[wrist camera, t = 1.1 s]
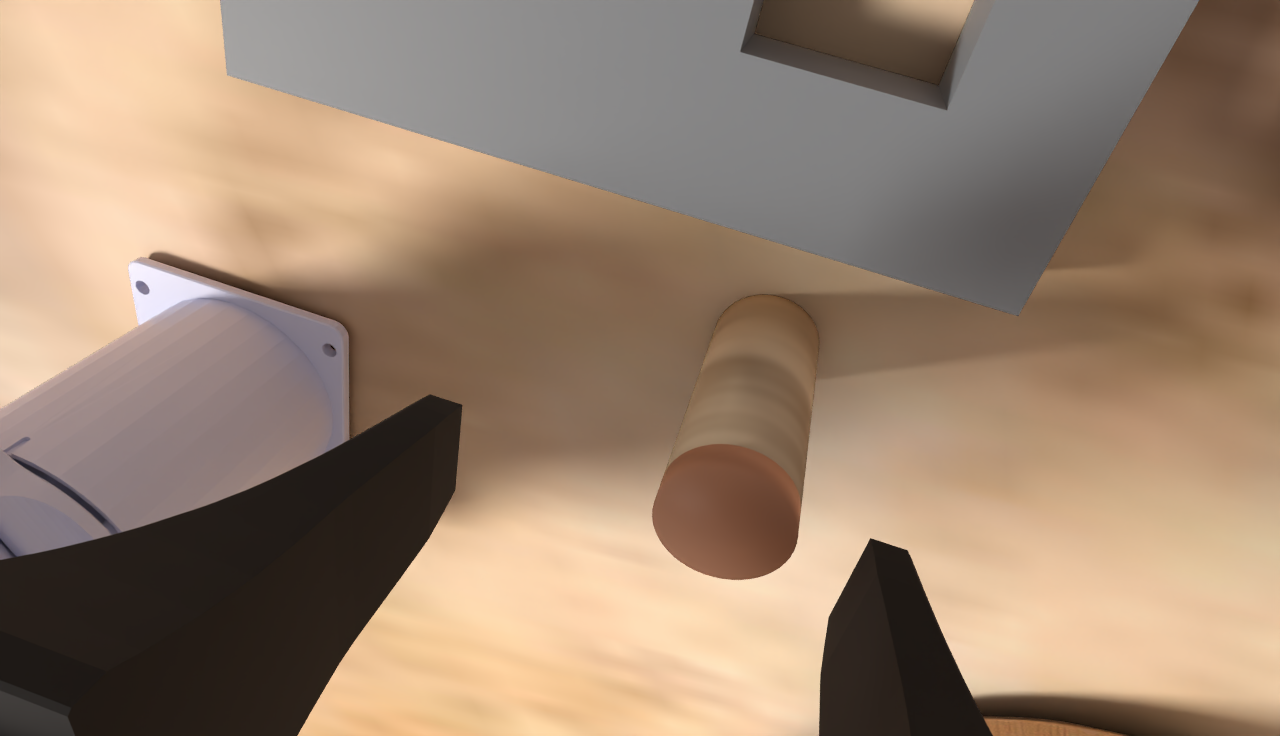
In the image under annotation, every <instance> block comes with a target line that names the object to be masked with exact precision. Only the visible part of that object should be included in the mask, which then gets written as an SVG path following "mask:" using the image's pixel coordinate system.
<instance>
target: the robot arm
mask: <svg viewBox="0 0 1280 736" xmlns="http://www.w3.org/2000/svg"><path fill="white" fill-rule="evenodd" d="M128 271H129V277H130V282H131V287H132V293H133V298H134V303H135V309H136V314H137V319H138V325H139V326H137V327H136V328H134V329H132V330H131V331H129V332H127V333H126V334H124V335H122V336H121V337H119V338H117V339H116V340H114V341H112V342H111V343H109V344H107V345H106V346H104V347H102V348H101V349H99V350H97V351H96V352H94V353H92V354H91V355H89V356H87V357H86V358H84V359H82V360H81V361H79V362H77V363H76V364H74V365H72V366H71V367H69V368H67V369H66V370H64V371H62V372H61V373H59V374H57V375H56V376H54V377H52V378H51V379H49V380H47V381H46V382H44V383H42V384H41V385H39V386H37V387H36V388H34V389H32V390H31V391H29V392H27V393H26V394H24V395H22V396H21V397H19V398H17V399H16V400H14V401H12V402H11V403H9V404H7V405H6V406H4V407H2V408H1V409H0V736H297V735H298V734H299V732H300V730H301V728H302V726H303V725H304V723H305V721H306V719H307V718H308V716H309V714H310V712H311V711H312V709H313V707H314V706H315V704H316V702H317V700H318V699H319V697H320V695H321V694H322V692H323V690H324V689H325V687H326V685H327V684H328V682H329V680H330V678H331V677H332V675H333V673H334V672H335V670H336V668H337V667H338V665H339V663H340V662H341V660H342V659H343V657H344V656H345V654H346V653H347V651H348V650H349V648H350V647H351V645H352V644H353V642H354V641H355V639H356V638H357V637H358V635H359V634H360V633H361V631H362V630H363V628H364V627H365V626H366V624H367V623H368V622H369V620H370V619H371V617H372V616H373V615H374V613H375V612H376V611H377V609H378V608H379V607H380V605H381V604H382V602H383V601H384V600H385V598H386V597H387V596H388V594H389V593H390V592H391V590H392V589H393V587H394V586H395V585H396V583H397V582H398V581H399V579H400V578H401V577H402V575H403V574H404V572H405V571H406V570H407V568H408V567H409V565H410V564H411V563H412V561H413V560H414V559H415V557H416V556H417V554H418V553H419V552H420V550H421V549H422V547H423V546H424V545H425V543H426V542H427V540H428V539H429V537H430V535H431V534H432V532H433V530H434V528H435V526H436V525H437V523H438V521H439V519H440V518H441V516H442V514H443V512H444V510H445V508H446V506H447V505H448V503H449V501H450V499H451V497H452V495H453V493H454V492H455V485H456V474H457V462H458V450H459V438H460V426H461V415H462V405H461V404H458V403H455V402H451V401H448V400H445V399H442V398H439V397H436V396H433V395H428V396H426V397H424V398H422V399H420V400H419V401H417V402H415V403H413V404H411V405H410V406H408V407H406V408H404V409H403V410H401V411H399V412H398V413H396V414H394V415H392V416H391V417H389V418H387V419H385V420H384V421H382V422H380V423H378V424H377V425H375V426H373V427H371V428H370V429H368V430H366V431H364V432H363V433H361V434H359V435H357V436H355V437H353V438H351V439H350V440H349V336H348V332H347V330H346V329H345V327H344V326H343V325H342V324H341V323H339V322H337V321H335V320H332V319H329V318H326V317H323V316H320V315H317V314H314V313H311V312H308V311H305V310H302V309H299V308H296V307H293V306H290V305H287V304H284V303H281V302H278V301H275V300H272V299H269V298H266V297H263V296H260V295H257V294H254V293H251V292H248V291H245V290H242V289H239V288H236V287H232V286H229V285H226V284H223V283H220V282H217V281H214V280H211V279H208V278H205V277H202V276H199V275H196V274H193V273H190V272H187V271H184V270H181V269H178V268H175V267H172V266H169V265H166V264H163V263H160V262H157V261H154V260H151V259H148V258H144V257H140V258H137V259H135V260H134V261H132V262H130V264H129V265H128ZM330 345H332V346H333V347H334V348H335V349H336V351H335V350H333V349H332V348H331V346H330ZM819 736H993V735H992V733H991V731H990V729H989V727H988V725H987V724H986V722H985V720H984V718H983V716H982V714H981V712H980V710H979V708H978V707H977V705H976V703H975V701H974V699H973V697H972V695H971V693H970V691H969V689H968V687H967V685H966V683H965V681H964V679H963V677H962V675H961V673H960V670H959V668H958V666H957V664H956V662H955V660H954V658H953V655H952V653H951V651H950V649H949V647H948V645H947V643H946V640H945V638H944V636H943V634H942V631H941V629H940V627H939V624H938V622H937V620H936V617H935V615H934V613H933V610H932V608H931V606H930V603H929V601H928V598H927V596H926V594H925V591H924V589H923V586H922V584H921V581H920V579H919V576H918V574H917V571H916V569H915V566H914V564H913V561H912V559H911V557H910V555H909V553H908V551H907V550H905V549H902V548H898V547H895V546H892V545H889V544H886V543H883V542H880V541H877V540H874V539H871V538H870V540H869V542H868V544H867V546H866V548H865V550H864V552H863V554H862V555H861V557H860V559H859V561H858V563H857V565H856V567H855V569H854V571H853V572H852V574H851V576H850V578H849V580H848V582H847V584H846V586H845V588H844V589H843V591H842V593H841V595H840V597H839V599H838V601H837V603H836V605H835V606H834V608H833V610H832V612H831V614H830V616H829V620H828V626H827V633H826V639H825V646H824V653H823V661H822V668H821V679H820V721H819Z"/></svg>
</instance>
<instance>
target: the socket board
mask: <svg viewBox="0 0 1280 736" xmlns="http://www.w3.org/2000/svg"><path fill="white" fill-rule="evenodd" d="M1198 1H1199V0H974V3H973V5H972V8H971V10H970V12H969V15H968V17H967V19H966V22H965V24H964V27H963V29H962V31H961V34H960V36H959V38H958V41H957V43H956V46H955V48H954V50H953V53H952V55H951V57H950V60H949V62H948V65H947V67H946V69H945V72H944V74H943V76H942V79H941V81H940V84H939V86H938V85H935V84H931V83H928V82H924V81H921V80H917V79H913V78H910V77H906V76H903V75H899V74H896V73H892V72H888V71H885V70H881V69H878V68H874V67H871V66H867V65H863V64H860V63H856V62H853V61H849V60H846V59H842V58H838V57H835V56H831V55H828V54H824V53H821V52H817V51H813V50H810V49H806V48H803V47H799V46H796V45H792V44H788V43H785V42H781V41H778V40H774V39H771V38H767V37H764V36H760V35H756V34H754V33H755V29H756V26H757V22H758V18H759V15H760V11H761V8H762V4H763V0H220V3H221V14H222V25H223V36H224V47H225V58H226V69H227V75H228V76H231V77H235V78H238V79H241V80H245V81H248V82H251V83H254V84H258V85H261V86H264V87H268V88H271V89H274V90H277V91H281V92H284V93H287V94H291V95H294V96H297V97H300V98H304V99H307V100H310V101H314V102H317V103H320V104H323V105H327V106H330V107H333V108H336V109H340V110H343V111H346V112H350V113H353V114H356V115H359V116H363V117H366V118H369V119H373V120H376V121H379V122H382V123H386V124H389V125H392V126H396V127H399V128H402V129H405V130H409V131H412V132H415V133H419V134H422V135H425V136H428V137H432V138H435V139H438V140H441V141H445V142H448V143H451V144H455V145H458V146H461V147H464V148H468V149H471V150H474V151H478V152H481V153H484V154H487V155H491V156H494V157H497V158H501V159H504V160H507V161H510V162H514V163H517V164H520V165H524V166H527V167H530V168H533V169H537V170H540V171H543V172H547V173H550V174H553V175H556V176H560V177H563V178H566V179H569V180H573V181H576V182H579V183H583V184H586V185H589V186H592V187H596V188H599V189H602V190H606V191H609V192H612V193H615V194H619V195H622V196H625V197H629V198H632V199H635V200H638V201H642V202H645V203H648V204H652V205H655V206H658V207H661V208H665V209H668V210H671V211H674V212H678V213H681V214H684V215H688V216H691V217H694V218H697V219H701V220H704V221H707V222H711V223H714V224H717V225H720V226H724V227H727V228H730V229H734V230H737V231H740V232H743V233H747V234H750V235H753V236H757V237H760V238H763V239H766V240H770V241H773V242H776V243H780V244H783V245H786V246H789V247H793V248H796V249H799V250H802V251H806V252H809V253H812V254H816V255H819V256H822V257H825V258H829V259H832V260H835V261H839V262H842V263H845V264H848V265H852V266H855V267H858V268H862V269H865V270H868V271H871V272H875V273H878V274H881V275H885V276H888V277H891V278H894V279H898V280H901V281H904V282H907V283H911V284H914V285H917V286H921V287H924V288H927V289H930V290H934V291H937V292H940V293H944V294H947V295H950V296H953V297H957V298H960V299H963V300H967V301H970V302H973V303H976V304H980V305H983V306H986V307H990V308H993V309H996V310H999V311H1003V312H1006V313H1009V314H1013V315H1016V316H1018V315H1019V314H1020V312H1021V310H1022V308H1023V307H1024V305H1025V303H1026V301H1027V300H1028V298H1029V296H1030V295H1031V293H1032V291H1033V289H1034V288H1035V286H1036V284H1037V282H1038V281H1039V279H1040V277H1041V275H1042V274H1043V272H1044V270H1045V268H1046V267H1047V265H1048V263H1049V261H1050V260H1051V258H1052V256H1053V254H1054V253H1055V251H1056V249H1057V247H1058V246H1059V244H1060V242H1061V240H1062V239H1063V237H1064V235H1065V233H1066V232H1067V230H1068V228H1069V226H1070V225H1071V223H1072V221H1073V219H1074V218H1075V216H1076V214H1077V213H1078V211H1079V209H1080V207H1081V206H1082V204H1083V202H1084V200H1085V199H1086V197H1087V195H1088V193H1089V192H1090V190H1091V188H1092V186H1093V185H1094V183H1095V181H1096V179H1097V178H1098V176H1099V174H1100V172H1101V171H1102V169H1103V167H1104V165H1105V164H1106V162H1107V160H1108V158H1109V157H1110V155H1111V153H1112V151H1113V150H1114V148H1115V146H1116V144H1117V143H1118V141H1119V139H1120V137H1121V136H1122V134H1123V132H1124V130H1125V129H1126V127H1127V125H1128V124H1129V122H1130V120H1131V118H1132V117H1133V115H1134V113H1135V111H1136V110H1137V108H1138V106H1139V104H1140V103H1141V101H1142V99H1143V97H1144V96H1145V94H1146V92H1147V90H1148V89H1149V87H1150V85H1151V83H1152V82H1153V80H1154V78H1155V76H1156V75H1157V73H1158V71H1159V69H1160V68H1161V66H1162V64H1163V62H1164V61H1165V59H1166V57H1167V55H1168V54H1169V52H1170V50H1171V48H1172V47H1173V45H1174V43H1175V42H1176V40H1177V38H1178V36H1179V35H1180V33H1181V31H1182V29H1183V28H1184V26H1185V24H1186V22H1187V21H1188V19H1189V17H1190V15H1191V14H1192V12H1193V10H1194V8H1195V7H1196V5H1197V3H1198Z"/></svg>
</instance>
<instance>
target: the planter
mask: <svg viewBox="0 0 1280 736" xmlns="http://www.w3.org/2000/svg"><path fill="white" fill-rule="evenodd" d="M983 718H984V720H985V722H986V724H987V725H988V727H989V729H990V731H991V733H992V735H993V736H1129V735H1125V734H1121V733H1116V732H1112V731H1107V730H1103V729H1098V728H1093V727H1089V726H1084V725H1079V724H1074V723H1068V722H1062V721H1056V720H1049V719H1039V718H1025V717H1000V716H983Z"/></svg>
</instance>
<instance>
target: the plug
mask: <svg viewBox="0 0 1280 736" xmlns="http://www.w3.org/2000/svg"><path fill="white" fill-rule="evenodd" d="M818 352H819V335H818V331H817V328H816V326H815V324H814V322H813V320H812V319H811V317H810V316H809V315H808V314H807V313H806V311H804V310H803V309H802V308H801V307H800V306H798V305H797V304H795V303H794V302H792V301H790V300H787V299H785V298H782V297H778V296H773V295H754V296H750V297H746V298H743V299H741V300H739V301H737V302H735V303H734V304H732V305H731V306H729V307H728V308H727V309H726V310H725V311H724V313H723V314H722V315H721V317H720V318H719V320H718V322H717V325H716V328H715V330H714V333H713V336H712V339H711V342H710V345H709V348H708V350H707V353H706V356H705V359H704V362H703V365H702V367H701V370H700V373H699V376H698V379H697V382H696V385H695V387H694V390H693V393H692V396H691V399H690V402H689V404H688V407H687V410H686V413H685V416H684V419H683V422H682V424H681V427H680V430H679V433H678V436H677V439H676V442H675V444H674V447H673V450H672V453H671V456H670V459H669V461H668V464H667V467H666V470H665V473H664V476H663V479H662V481H661V484H660V487H659V490H658V493H657V496H656V499H655V501H654V505H653V511H652V518H653V525H654V528H655V531H656V533H657V536H658V538H659V539H660V541H661V542H662V544H663V545H664V547H665V548H666V549H667V550H668V551H669V552H670V553H671V554H672V555H673V556H674V557H675V558H676V559H678V560H679V561H680V562H682V563H683V564H685V565H686V566H688V567H690V568H692V569H694V570H696V571H698V572H701V573H703V574H706V575H709V576H713V577H717V578H722V579H731V580H744V579H752V578H757V577H761V576H764V575H767V574H769V573H771V572H773V571H775V570H776V569H778V568H780V567H781V566H782V565H783V564H784V563H786V561H787V560H788V559H789V558H790V557H791V555H792V553H793V552H794V550H795V547H796V544H797V539H798V531H799V522H800V513H801V504H802V495H803V486H804V477H805V468H806V459H807V450H808V441H809V432H810V423H811V414H812V406H813V397H814V388H815V379H816V370H817V361H818Z"/></svg>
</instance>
